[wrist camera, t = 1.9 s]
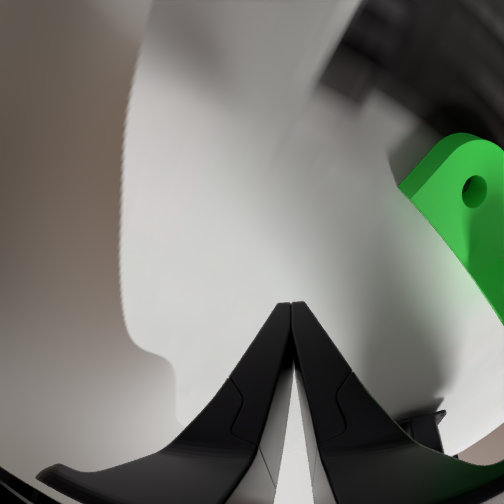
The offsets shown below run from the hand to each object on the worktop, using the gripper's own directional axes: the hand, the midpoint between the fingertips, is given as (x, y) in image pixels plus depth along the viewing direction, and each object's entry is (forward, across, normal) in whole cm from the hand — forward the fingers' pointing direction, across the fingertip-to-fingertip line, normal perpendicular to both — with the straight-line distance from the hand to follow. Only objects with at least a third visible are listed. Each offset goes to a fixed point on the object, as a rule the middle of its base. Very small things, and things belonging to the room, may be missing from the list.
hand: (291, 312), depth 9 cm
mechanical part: (+8, -12, +1) cm, 14 cm away
